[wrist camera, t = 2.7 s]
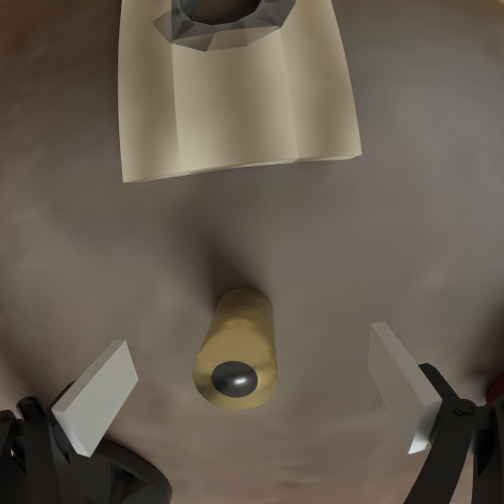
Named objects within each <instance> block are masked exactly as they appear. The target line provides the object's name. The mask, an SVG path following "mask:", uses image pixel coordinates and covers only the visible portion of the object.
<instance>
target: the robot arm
mask: <svg viewBox="0 0 504 504" xmlns="http://www.w3.org/2000/svg"><path fill="white" fill-rule="evenodd" d="M368 369H369V371H370V373H371V376H372V378H373V380H374V382H375V384H376V386H377V388H378V390H379V392H380V394H381V396H382V398H383V401H384V403H385V405H386V407H387V409H388V411H389V413H390V416H391V418H392V420H393V422H394V424H395V426H396V429H397V431H398V433H399V435H400V438H401V440H402V442H403V444H404V447H405V449H406V451H407V453H408V454H411V453H415V452H418V451H421V450H424V449H425V448H426V445H427V443H428V440H429V441H430V443H431V445H432V448H431V450H430V452H429V455H428V457H427V459H426V461H425V463H424V465H423V467H422V470H421V472H420V474H419V476H418V478H417V480H416V482H415V483H414V485H413V487H412V489H411V491H410V493H409V495H408V496H407V498H406V500H405V502H404V503H403V504H449V503H450V500H451V498H452V495H453V493H454V490H455V488H456V485H457V483H458V480H459V477H460V474H461V471H462V469H463V466H464V462H465V459H466V456H467V455H473V454H474V460H473V489H472V502H471V504H504V394H501V395H499V396H498V397H497V398H496V399H495V401H494V404H493V405H489V406H480V407H477V406H476V404H475V403H473V402H472V401H470V400H467V399H460V398H459V397H458V396H457V394H456V393H455V392H454V390H453V389H452V388H451V387H450V385H449V384H448V383H447V381H445V379H444V378H443V376H441V374H440V373H439V371H438V370H437V369H436V368H435V367H433V366H432V365H430V364H428V363H425V364H421V365H417V364H416V362H415V361H414V360H413V358H412V357H411V356H410V354H409V353H408V352H407V350H406V349H405V348H404V346H403V345H402V344H401V342H400V341H399V340H398V339H397V337H396V336H395V335H394V333H393V332H392V331H391V330H390V328H389V327H388V326H387V324H386V323H385V322H380V323H373V324H371V329H370V346H369V359H368ZM137 382H138V377H137V374H136V371H135V368H134V365H133V362H132V359H131V356H130V353H129V349H128V346H127V343H126V340H114V341H113V342H112V343H111V344H110V345H109V346H108V347H107V348H106V349H105V350H104V351H103V352H102V354H101V355H100V356H99V357H98V358H97V359H96V360H95V361H94V362H93V363H92V364H91V365H90V366H89V368H88V369H87V370H86V371H85V372H84V373H83V374H82V375H81V376H80V377H79V378H78V380H77V381H74V382H72V383H71V384H69V385H67V387H66V388H65V389H64V390H63V391H62V392H61V393H60V394H59V395H58V397H56V399H55V400H54V401H53V402H52V403H51V404H50V405H49V406H48V407H47V409H46V410H45V409H44V408H43V406H42V404H41V402H40V400H39V398H37V397H36V396H28V397H25V398H23V399H21V400H20V401H19V402H18V403H17V405H16V408H17V410H18V412H19V414H20V415H21V417H22V419H16V417H15V415H14V413H13V412H12V411H10V410H3V411H0V504H170V501H171V497H172V488H171V486H170V484H169V483H168V481H167V480H166V479H165V477H164V476H163V475H162V474H161V473H160V472H159V471H157V470H156V469H155V468H154V467H153V466H151V465H150V464H149V463H147V462H146V461H144V460H143V459H141V458H140V457H138V456H136V455H135V454H133V453H131V452H129V451H128V450H126V449H124V448H122V447H120V446H117V445H115V444H113V443H110V442H108V441H105V440H102V437H103V436H104V434H105V432H106V431H107V429H108V427H109V426H110V424H111V423H112V421H113V419H114V418H115V416H116V415H117V413H118V411H119V410H120V408H121V407H122V405H123V404H124V402H125V400H126V399H127V397H128V396H129V394H130V393H131V391H132V389H133V388H134V386H135V385H136V383H137ZM11 449H12V451H13V452H14V454H13V456H12V454H11Z"/></svg>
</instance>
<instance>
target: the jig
mask: <svg viewBox="0 0 504 504" xmlns="http://www.w3.org/2000/svg"><path fill="white" fill-rule="evenodd" d="M200 1H202V0H122V7H121V18H120V32H119V53H118V112H119V135H120V150H121V163H122V174H123V182H130V183H144V182H149V181H155V180H160V179H166V178H172V177H178V176H185V175H191V174H198V173H205V172H212V171H219V170H227V169H235V168H244V167H253V166H262V165H272V164H284V163H296V162H309V161H325V160H345V159H350V158H353V157H356V156H359V155H362V152H361V144H360V137H359V129H358V123H357V116H356V110H355V104H354V98H353V92H352V87H351V82H350V77H349V72H348V67H347V62H346V58H345V53H344V49H343V45H342V41H341V37H340V33H339V29H338V25H337V21H336V18H335V14H334V11H333V7H332V4H331V0H256V1H257V2H258V3H259V6H258V7H257V9H256V10H255V12H253V13H251V14H250V15H248V16H246V17H244V18H242V19H240V20H239V21H237V22H233V23H226V24H219V25H213V26H212V25H208V24H203V23H199V22H194V21H191V20H190V19H189V15H190V14H191V12H192V11H193V9H194V8H195V6H196V5H197V3H198V2H200Z"/></svg>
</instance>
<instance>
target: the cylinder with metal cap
mask: <svg viewBox="0 0 504 504" xmlns="http://www.w3.org/2000/svg"><path fill="white" fill-rule="evenodd" d="M193 380H194V383H195V386H196V388H197V390H198V391H199V392H200V394H201V395H202V396H203V397H204V398H205V399H206V400H208V401H209V402H211V403H213V404H214V405H217V406H219V407H222V408H225V409H230V410H246V409H251V408H254V407H257V406H259V405H261V404H262V403H264V402H265V401H267V400H268V399H269V398H270V397H271V395H272V394H273V393H274V391H275V388H276V386H277V366H276V350H275V336H274V321H273V310H272V306H271V304H270V302H269V300H268V299H267V297H266V296H265V295H263V294H262V293H261V292H259V291H257V290H255V289H252V288H245V287H244V288H236V289H233V290H231V291H229V292H227V293H226V294H225V295H224V296H223V297H222V298H221V299H220V301H219V303H218V306H217V308H216V311H215V313H214V316H213V318H212V321H211V324H210V326H209V329H208V331H207V334H206V337H205V339H204V342H203V344H202V347H201V350H200V352H199V355H198V357H197V360H196V363H195V365H194V369H193Z"/></svg>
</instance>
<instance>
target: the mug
mask: <svg viewBox="0 0 504 504" xmlns="http://www.w3.org/2000/svg"><path fill="white" fill-rule="evenodd" d="M501 394H504V374H503V375H502V376H500V377H499V378H498V379H497V380H496V381H495V382H494V383H493V384H492V386H491V387H490V389H489V391H488V393H487V397H486V400H487V404H486V405H485V406H489V405H493V404H494V401H495V399H496V398H497V397H498V396H499V395H501Z"/></svg>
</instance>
